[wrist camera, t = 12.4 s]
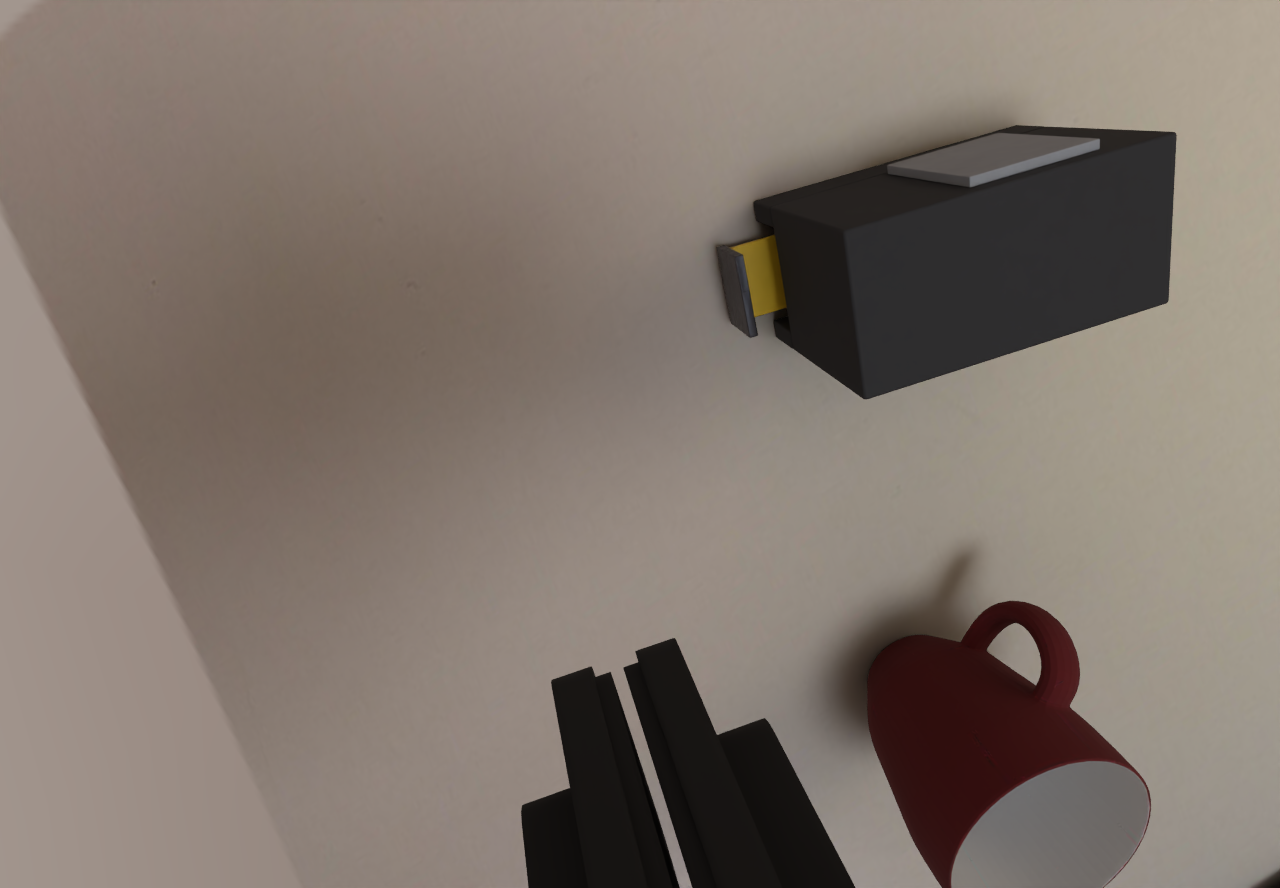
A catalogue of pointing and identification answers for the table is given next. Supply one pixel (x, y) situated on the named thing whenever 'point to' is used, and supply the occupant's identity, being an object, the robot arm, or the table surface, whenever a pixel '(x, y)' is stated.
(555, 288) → the table surface
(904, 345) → the tape case
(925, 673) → the mug
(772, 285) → the tape blade
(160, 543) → the table surface
